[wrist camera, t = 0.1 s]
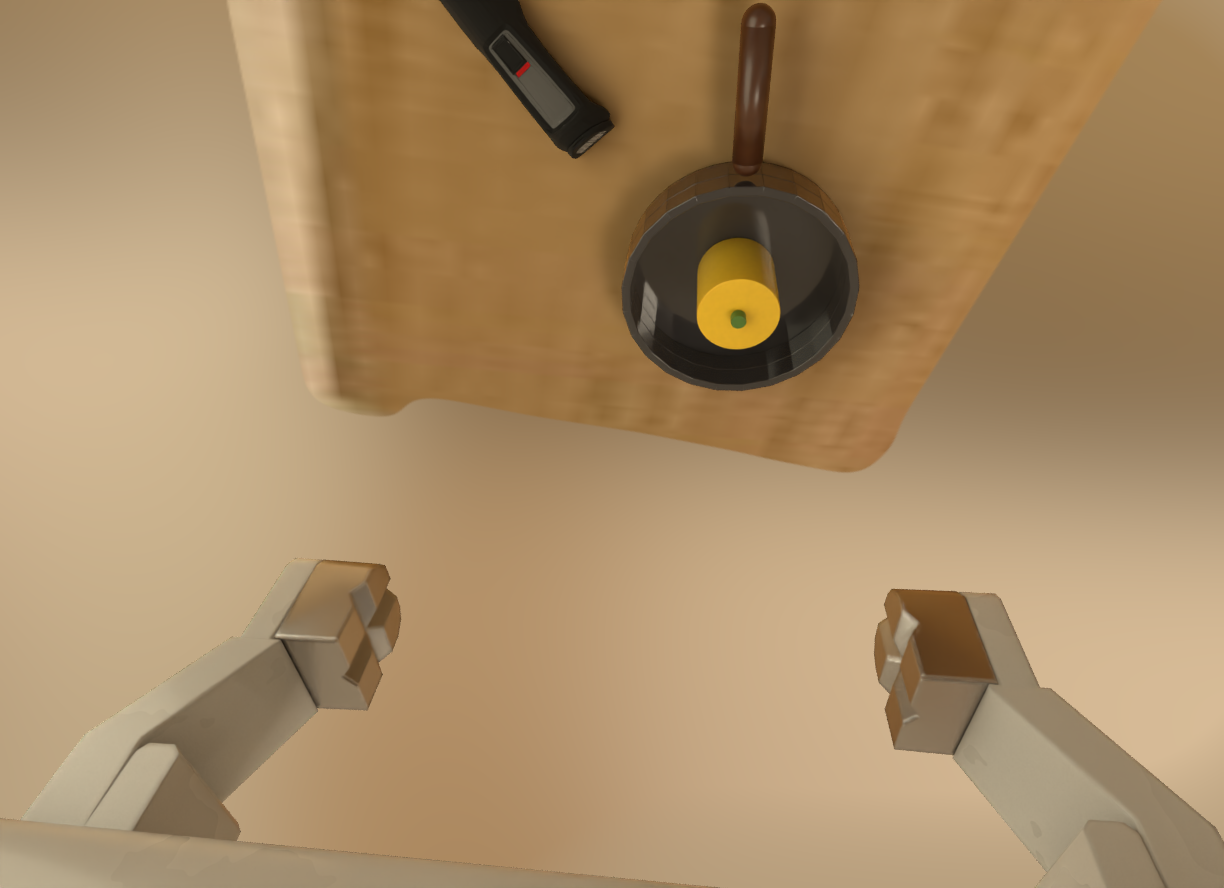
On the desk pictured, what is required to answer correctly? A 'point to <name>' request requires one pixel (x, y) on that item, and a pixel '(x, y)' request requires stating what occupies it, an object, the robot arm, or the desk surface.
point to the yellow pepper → (737, 294)
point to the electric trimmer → (531, 73)
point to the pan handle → (753, 88)
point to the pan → (803, 259)
